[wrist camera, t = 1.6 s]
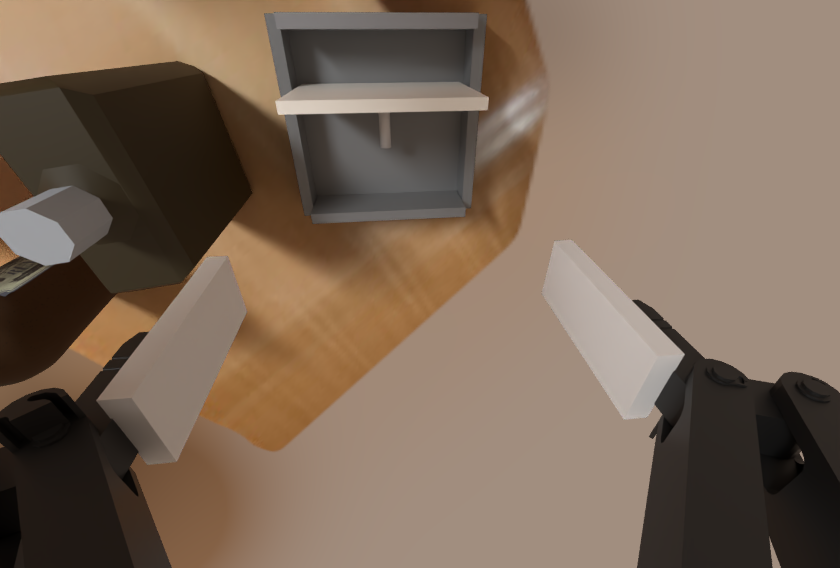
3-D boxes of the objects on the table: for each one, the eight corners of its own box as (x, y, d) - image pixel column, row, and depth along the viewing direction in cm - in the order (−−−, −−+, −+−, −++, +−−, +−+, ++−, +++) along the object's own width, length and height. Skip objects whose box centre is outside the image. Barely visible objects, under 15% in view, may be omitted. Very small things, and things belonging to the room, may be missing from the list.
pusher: (302, 83, 39) (275, 100, 28) (458, 81, 40) (488, 97, 30) (311, 141, 42) (290, 175, 32) (455, 137, 44) (482, 169, 33)
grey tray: (275, 15, 36) (256, 11, 31) (476, 16, 38) (494, 12, 33) (310, 202, 48) (301, 224, 42) (463, 195, 50) (475, 216, 44)
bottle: (200, 57, 38) (-5, 80, 17) (258, 199, 47) (170, 324, 27) (125, 69, 38) (-170, 106, 17) (198, 209, 47) (62, 342, 26)
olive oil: (154, 283, 52) (12, 440, 32) (83, 297, 52) (-103, 463, 32) (105, 217, 46) (-109, 360, 26) (26, 233, 46) (-250, 388, 26)
